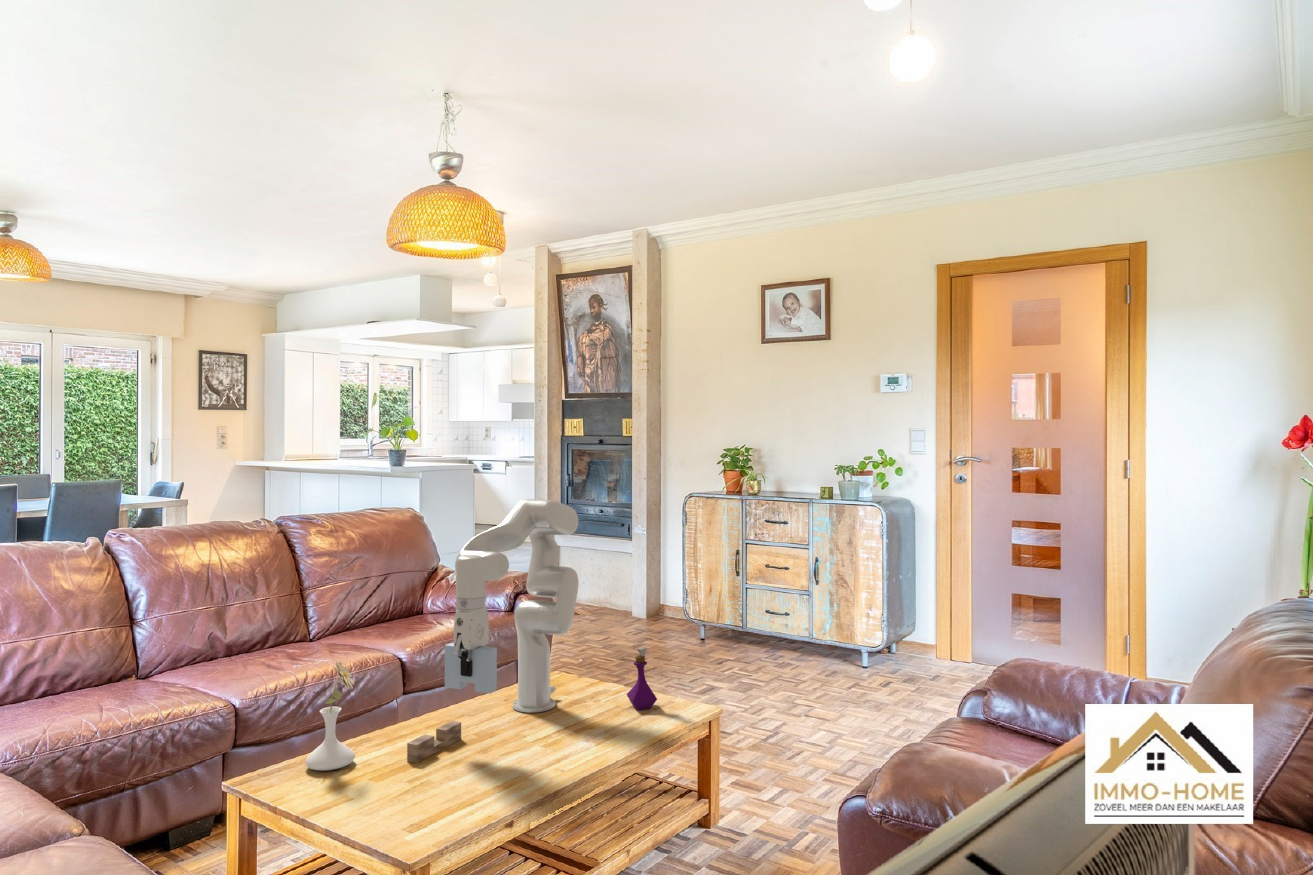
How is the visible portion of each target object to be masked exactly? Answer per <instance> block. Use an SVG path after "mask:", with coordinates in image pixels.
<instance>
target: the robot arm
mask: <svg viewBox="0 0 1313 875" xmlns="http://www.w3.org/2000/svg"><path fill="white" fill-rule="evenodd" d="M578 526H579V516H578V513H577V511H576V510H575V509H574V508H573V507H571V506H570V505H569V506H568V505H566V504H564V503H562V502H559V501H557V500H554V499H540V498H538V499H537V498H527V499H526V498H525V499H521V500H520V501H518V502H517V503H515V505H514V506H513V507H512V508H511V509H510V511H509V512H508V513H507V515H506V516H505V517H504V518H503V520H501V521H500V523H499V524H498V525H496V526H493V527H492V528H489V529H488V530H485V531H482V532H481V533H479V534H476V535H475V536H473V537H472V538H471V539H469V541H467V542H466V543H465V545H464V546H463V547H462V548H461V549H460V551H459V552H458V554H457V556H456V559H455V563H454V568H455V615H454V623H453V643H454V647H455V649H454V654H455V655H457V656H458V657H459V660H460V661H461V676H467V677H471V676H472V661H470V660H471V650H473V649H476V648H478V647H481V646H485V647H486V645H487V644H488V643H489V642H490V624H489V623H490V622H489V612H488V609H487V605H486V604H487V602H486V593H487V592H486V591H487V590H486V583H487V582H486V581H497V580H500V579H502V578H504V577H506V574H507V573H508V571H509V568H510V562H509V558H508V557H507V556H506V555H505V554H504V552H507V551H512V550H515V549H517V548H519V547H521V546H522V545H523V544H524V542H525V541H526V539H527V538H528V537H529V540H530V543H531V549H532V550H531V557H530V562H529V567H528V573H527V578H526V584H525V585H526V586H525V587H526V591H527V593H528V594H529V595H530V596H533V597H540V598H551V599H556V601H546V600H536V599H534V600H533V599H532V600H531V599H529V600H528V599H527V600H525V601H522V602H520V603H519V604H518V605H517V606H516V608H515V610H514V624H515V629H516V630H515V631H516V634H517V699H516V700H514V701H513V702H512V709H513V710H515V711H517V712H520V713H530V714H531V713H542V712H547V711H550V710H552V709H553V708H555V707H556V700H555V699H553V698H552V697H551V695H552V694H553V693H554V692H556V691H557V688H556V686H555V685H551V646H550V642H549V640H548V638H547V637H546V635H551V636H553V635H554V636H564V635H566V634H568V633H569V631H570V630H571V627H572V625H573V621H574V616H575V609H576V606H577V605H576V604H577V599H578V598H577V597H578V591H579V576H578V573H577V571H576V570H575V569H574V568H573V567H571V566H570V567H569V566H561V565H559V561H560V555H561V554H560V553H561V552H560V547H559V545H558V543H557V541H556V540H555V538H554V537H553V536H570V535H572V534H574V533H575V532H576V531H577V529H578ZM464 651H467V654H466V653H465V652H464Z"/></svg>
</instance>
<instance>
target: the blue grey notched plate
mask: <svg viewBox="0 0 1313 875" xmlns="http://www.w3.org/2000/svg"><path fill="white" fill-rule="evenodd" d="M454 649H455V647H454V642H450V643H447V644H445V645H444V688H446V689H454V690H461V689H464V688H467V684H474V692H475V693H482V694H483V693H484V694H492V693H495V692H496V691H497V690H498V689H497V686H498V684H497V682H498V676H497V675H498V664H497V663H498V662H497V661H498V647H494V646H492V647H491V646H486V645H485V646H481V647H478V648H476V649H473V650H471V660H470V661H472V676H471V677H467V676H461V661H460V660H459V657H458V656H457V655H455V654H454ZM464 652H465V653H466V654H467V651H464Z"/></svg>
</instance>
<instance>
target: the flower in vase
mask: <svg viewBox="0 0 1313 875" xmlns="http://www.w3.org/2000/svg"><path fill="white" fill-rule="evenodd" d="M335 669H336V670H335V671H336V674H337V675H338V679H337V681H336V683H335V685H334V687H333V689H332V690H333V691H332V695H331V698H330V697H329V698H327V700H326V701H325V702H324V704H328V705H329V704H330V706H328V707H323V708H322V709H320V710H319V713H320V715H322V717H323V720H324V727H325V736H324V740H323V741H322V743H321V744H320V745H318V746H317V747H316V748H315V749H313V751H312V752H310V754H308V756H306V759H305V762H304V763H305V765H306V767H307V768H308V769H310V770H315V771H333V770H338V769H341V768H344V767H346V766H348V765H350V764H351V763H352V762H354V760H355V757H356V754H355V752H354V750H352V749H351V748H350V747H348V745H346V744H344V743H342V742H340V741H339V740H338V739H337V736H336V725H337V724H336V723H337V718H338V715H339V714H340V712H341V711H342V707H340V706H333V703H334V702H336V701H339V700H340V699H341V698H342V693H341V691H339V690H337V689H336V688H337V686H338V683H339V681H341V683H342V685H343V686H344V687H345V688H346V689H348V690H352V689H354V687H353V685H355V682H354V681H353V679H352V673H351V672H349V670H348V666H347V665H346V664H345V665H343V662H342V661H341V660H339V661H338V660H336V662H335ZM334 698H335V699H334Z"/></svg>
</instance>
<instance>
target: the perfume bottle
mask: <svg viewBox="0 0 1313 875" xmlns="http://www.w3.org/2000/svg"><path fill="white" fill-rule="evenodd" d="M636 649H637V652H638V653H639V654H638V655H636V656H635V658H634V659H635V661H634V662H633V665H634V666H635V667H636V669H637V680H636V683H635V684H634V685H633V686H632V688H630V690H629V691H628V692H627V693H626V696H627V698H628V699H629V702H630V704H632V706H633V708H635V710H636V711H643V710H650V709H651V708H652V707H653V705H654V704H655V703H656V702H657V700H658V697H657V696H656V695H655V693H654V692H653V690H652V689H651V687H650V686H649V684H648V681H647V680H646V676H645V666H647V664H648V662H647V661H646V660H645V659H646V656H645V655H646V653H647V649H648V648H647V647H638V648H636Z"/></svg>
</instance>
